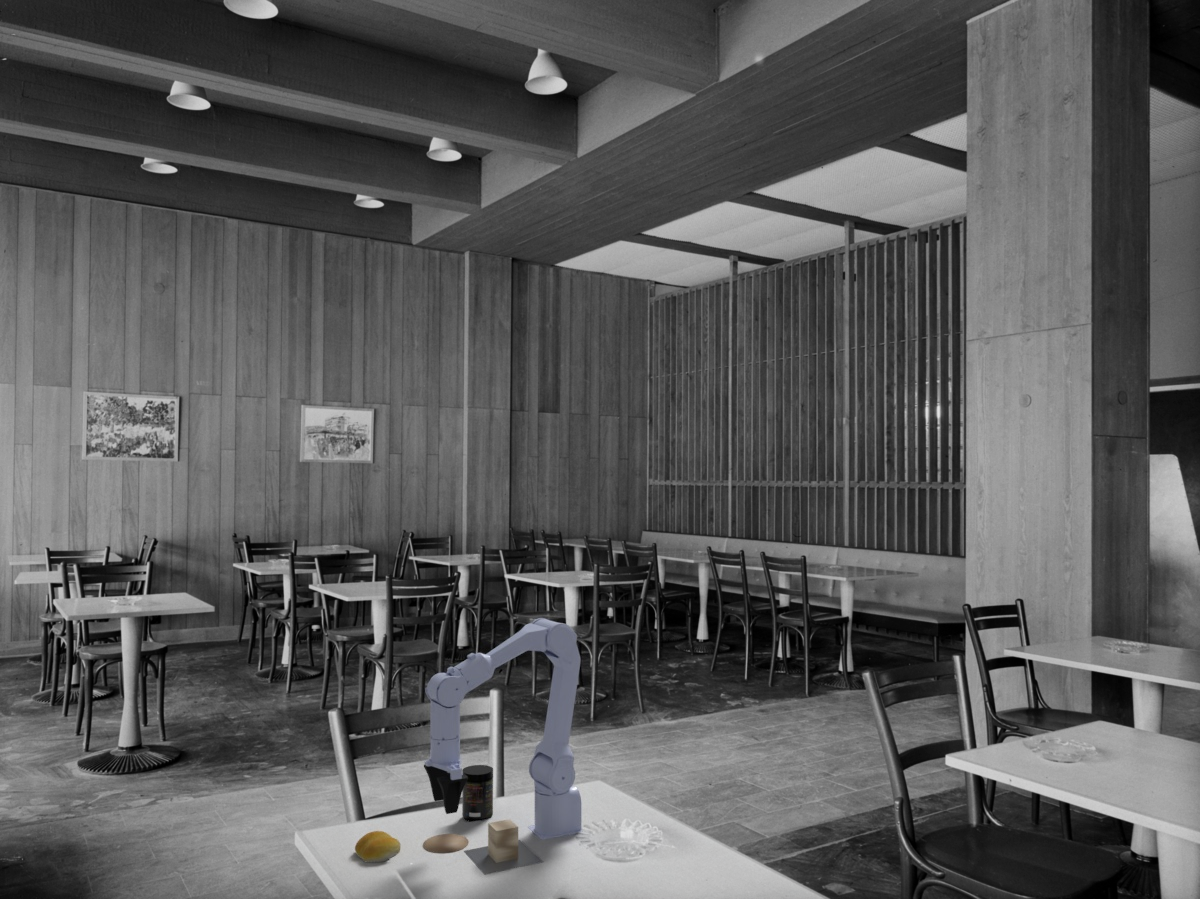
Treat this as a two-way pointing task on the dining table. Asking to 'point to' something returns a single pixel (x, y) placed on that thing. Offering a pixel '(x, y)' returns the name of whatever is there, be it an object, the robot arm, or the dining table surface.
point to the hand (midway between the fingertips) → (445, 806)
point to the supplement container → (477, 793)
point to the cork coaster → (445, 843)
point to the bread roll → (377, 847)
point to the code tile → (491, 866)
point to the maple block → (503, 840)
